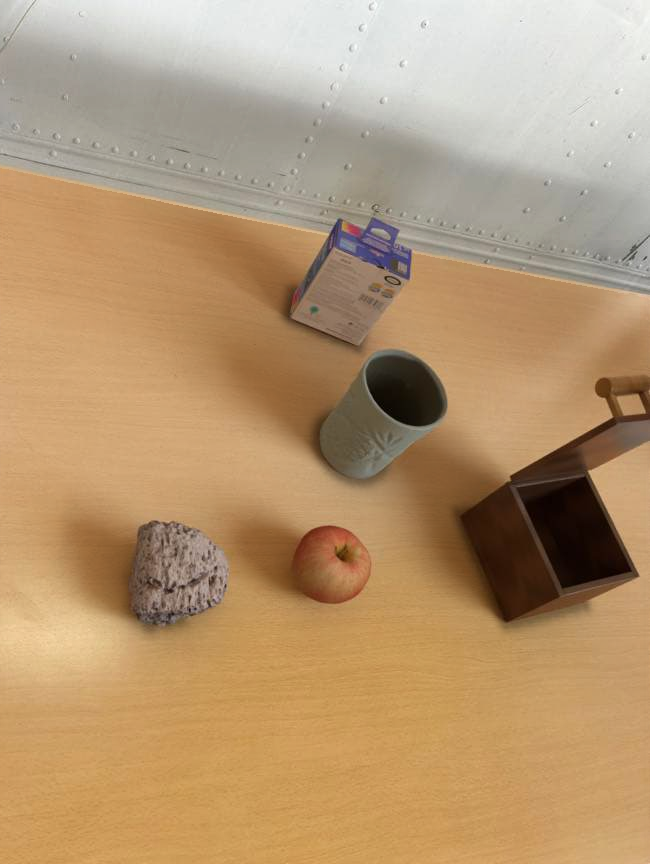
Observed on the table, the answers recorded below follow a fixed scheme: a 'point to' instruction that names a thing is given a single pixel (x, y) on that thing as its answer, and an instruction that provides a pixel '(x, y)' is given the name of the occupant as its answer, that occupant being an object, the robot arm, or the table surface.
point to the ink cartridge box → (352, 281)
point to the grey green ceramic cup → (382, 413)
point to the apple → (331, 565)
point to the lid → (599, 433)
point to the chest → (547, 544)
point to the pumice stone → (175, 573)
